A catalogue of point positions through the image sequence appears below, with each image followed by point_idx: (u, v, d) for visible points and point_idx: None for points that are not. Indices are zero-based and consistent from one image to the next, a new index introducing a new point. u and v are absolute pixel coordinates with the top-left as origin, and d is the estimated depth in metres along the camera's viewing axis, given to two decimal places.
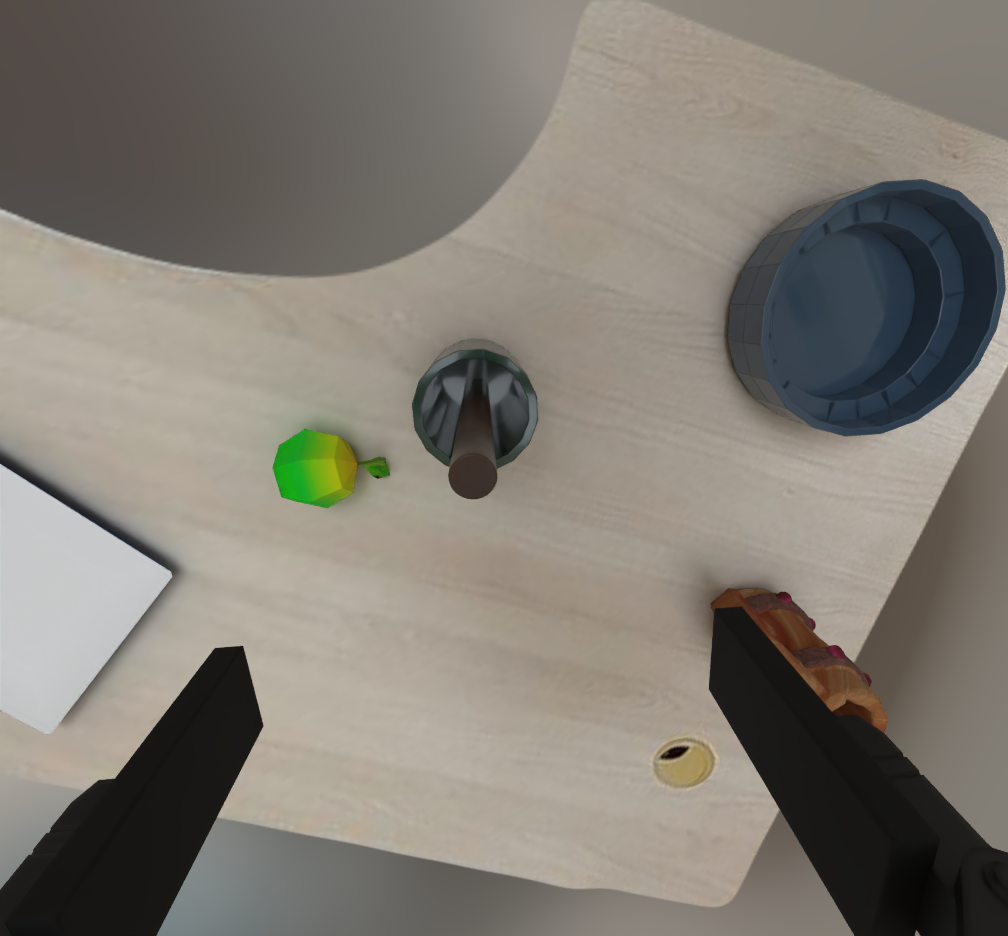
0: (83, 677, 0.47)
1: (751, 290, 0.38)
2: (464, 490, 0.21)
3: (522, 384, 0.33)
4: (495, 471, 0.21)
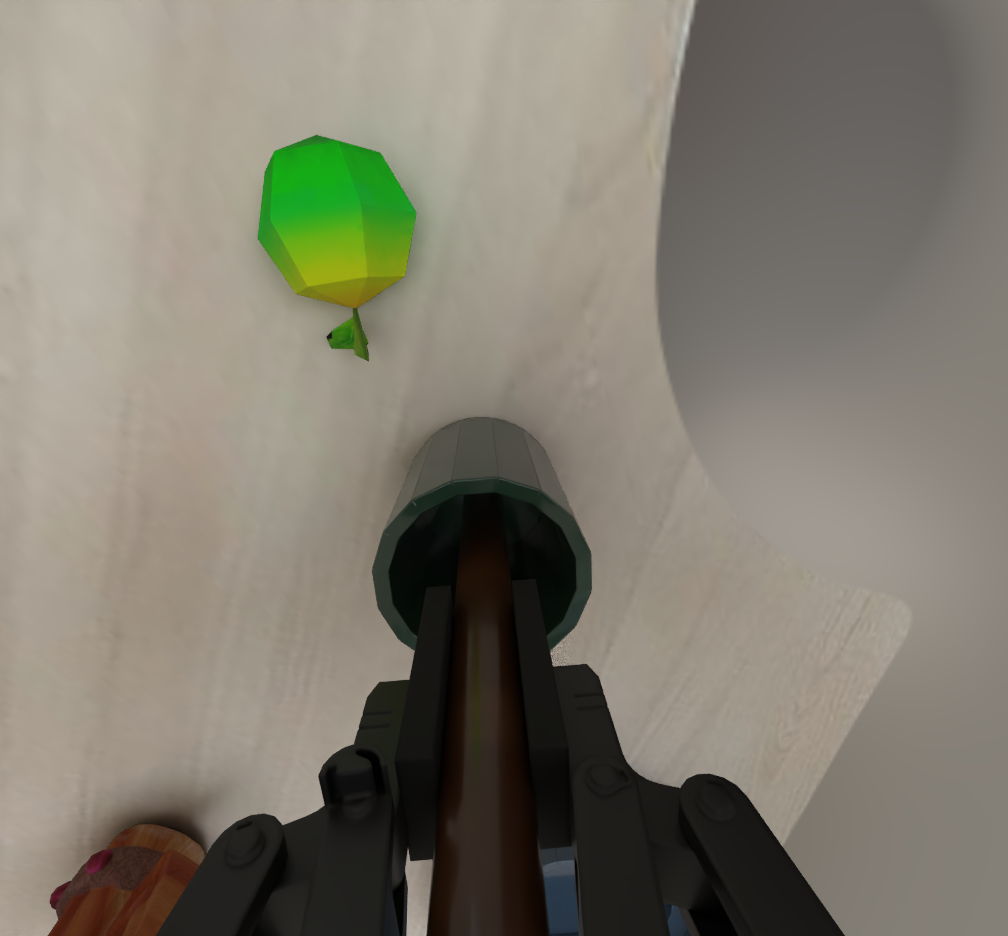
0: None
1: None
2: None
3: None
4: None
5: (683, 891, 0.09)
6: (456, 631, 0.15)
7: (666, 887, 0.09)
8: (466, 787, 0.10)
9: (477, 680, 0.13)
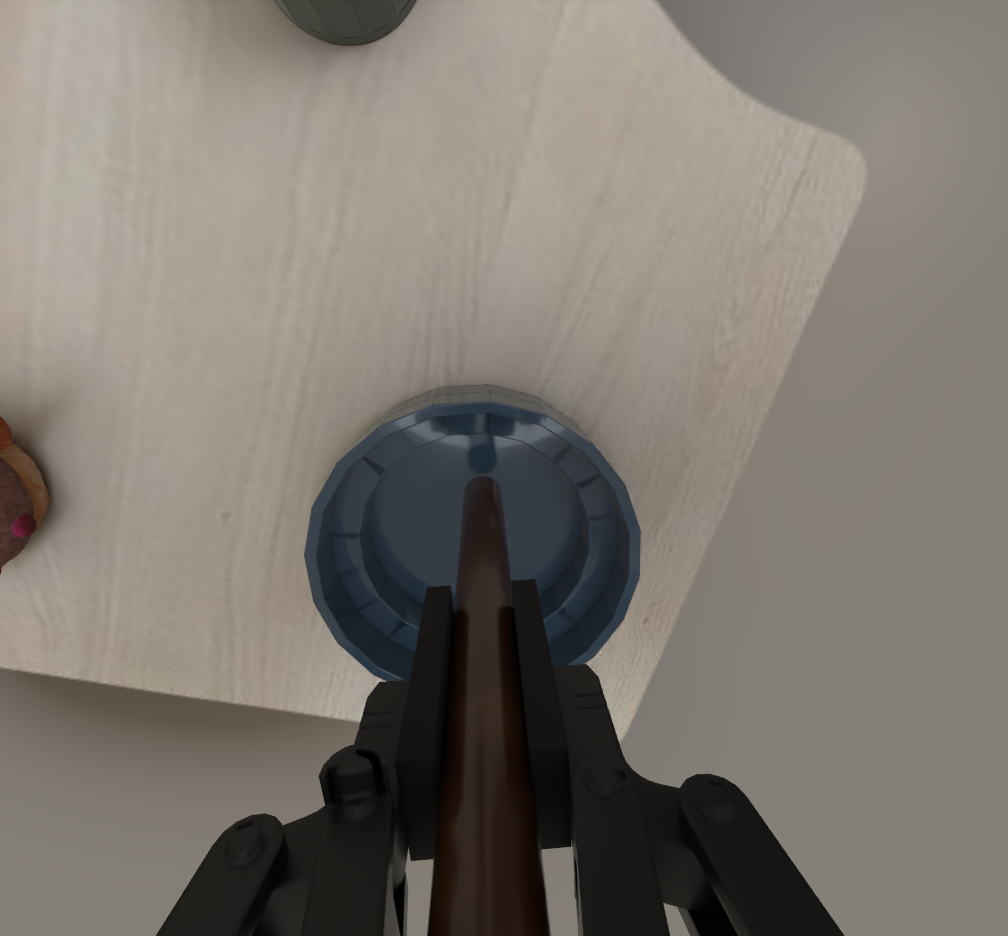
0: None
1: (509, 397, 0.27)
2: None
3: None
4: None
5: (683, 891, 0.09)
6: (456, 631, 0.15)
7: (665, 887, 0.09)
8: (467, 787, 0.10)
9: (477, 679, 0.13)
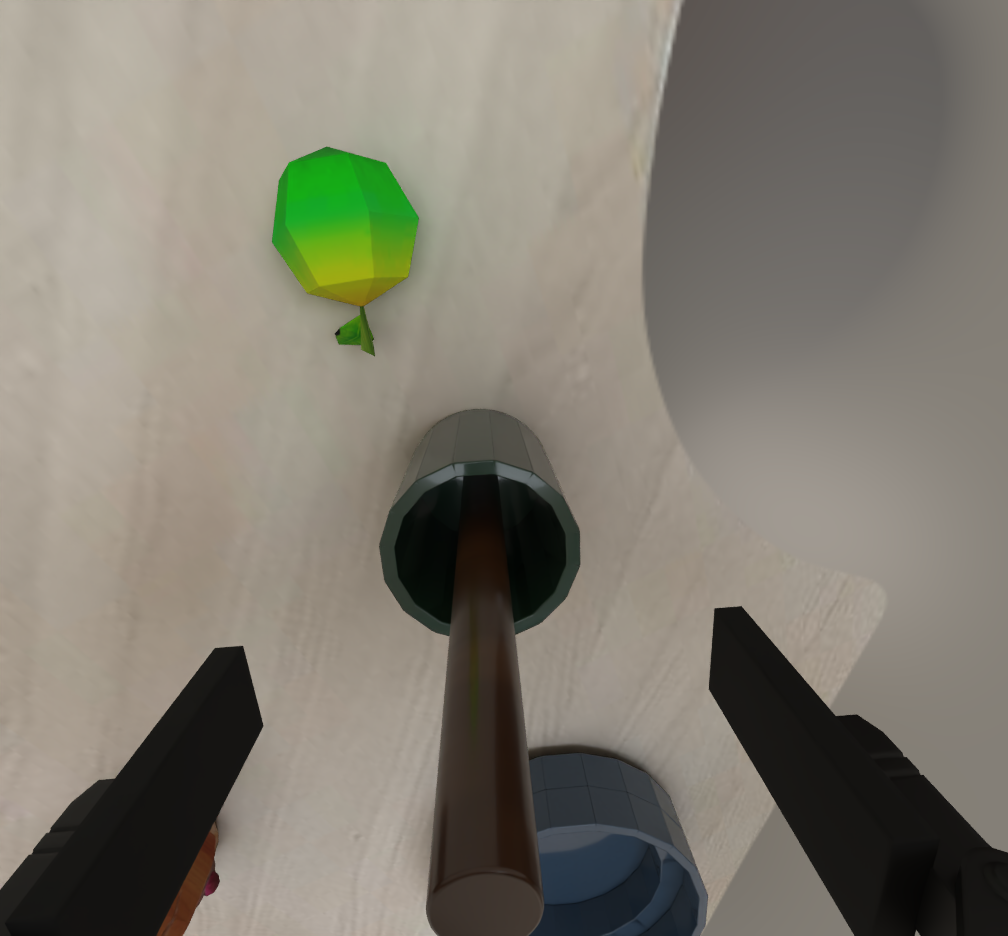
0: None
1: (602, 788, 0.34)
2: (450, 900, 0.09)
3: (525, 619, 0.22)
4: None
5: None
6: (456, 595, 0.17)
7: None
8: (467, 712, 0.12)
9: (475, 631, 0.14)
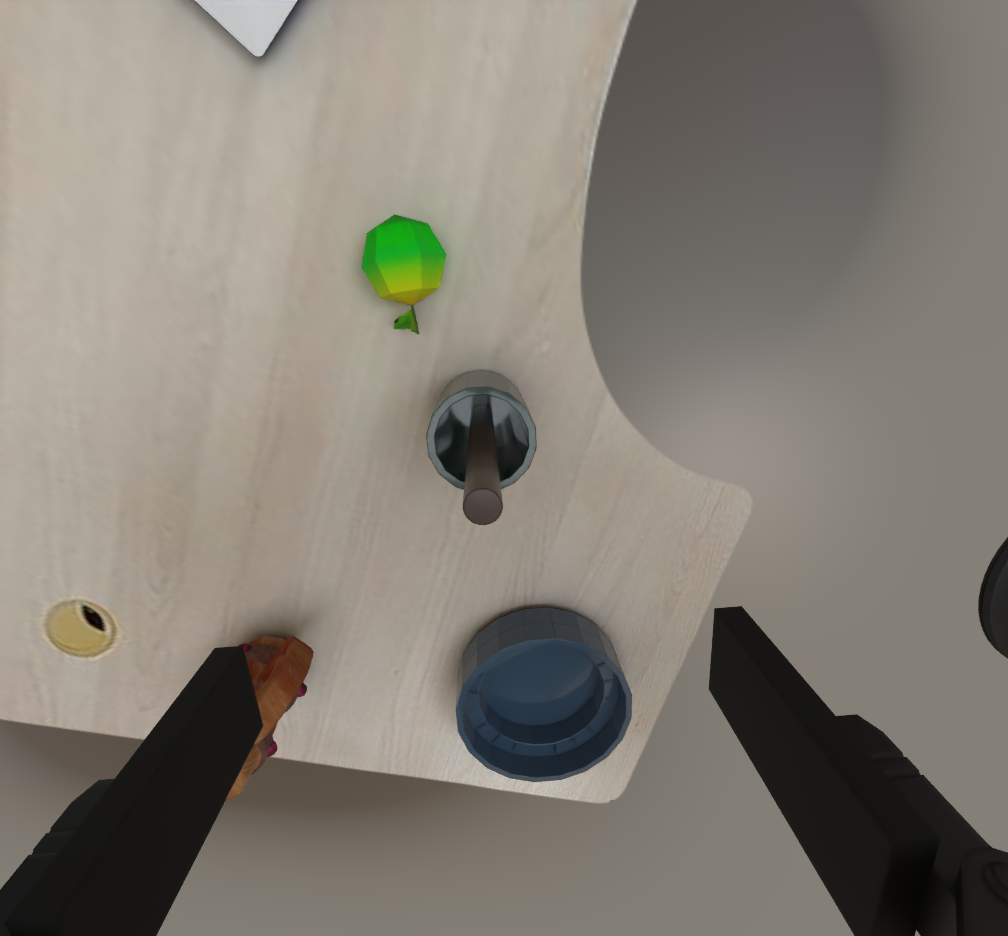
0: None
1: (562, 624, 0.51)
2: (471, 500, 0.26)
3: (506, 479, 0.39)
4: (487, 523, 0.26)
5: None
6: (469, 448, 0.34)
7: None
8: (475, 468, 0.29)
9: (479, 452, 0.32)
